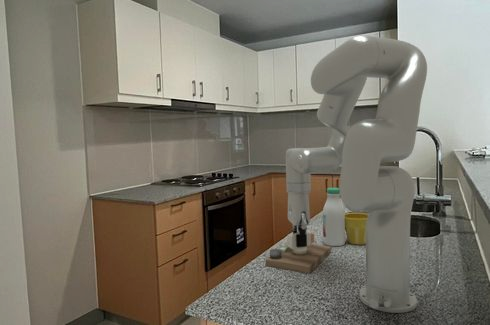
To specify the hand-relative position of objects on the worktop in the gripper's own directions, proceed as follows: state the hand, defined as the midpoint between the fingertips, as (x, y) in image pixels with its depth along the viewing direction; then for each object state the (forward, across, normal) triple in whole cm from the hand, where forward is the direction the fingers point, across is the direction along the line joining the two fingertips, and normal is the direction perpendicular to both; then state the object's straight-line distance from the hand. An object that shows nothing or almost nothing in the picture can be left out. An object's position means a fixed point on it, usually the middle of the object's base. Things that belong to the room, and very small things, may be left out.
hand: (299, 244), depth 112 cm
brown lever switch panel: (+5, 0, 0) cm, 5 cm away
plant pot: (+5, -13, +25) cm, 28 cm away
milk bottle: (+5, -13, +16) cm, 21 cm away
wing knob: (+3, 0, 0) cm, 3 cm away
